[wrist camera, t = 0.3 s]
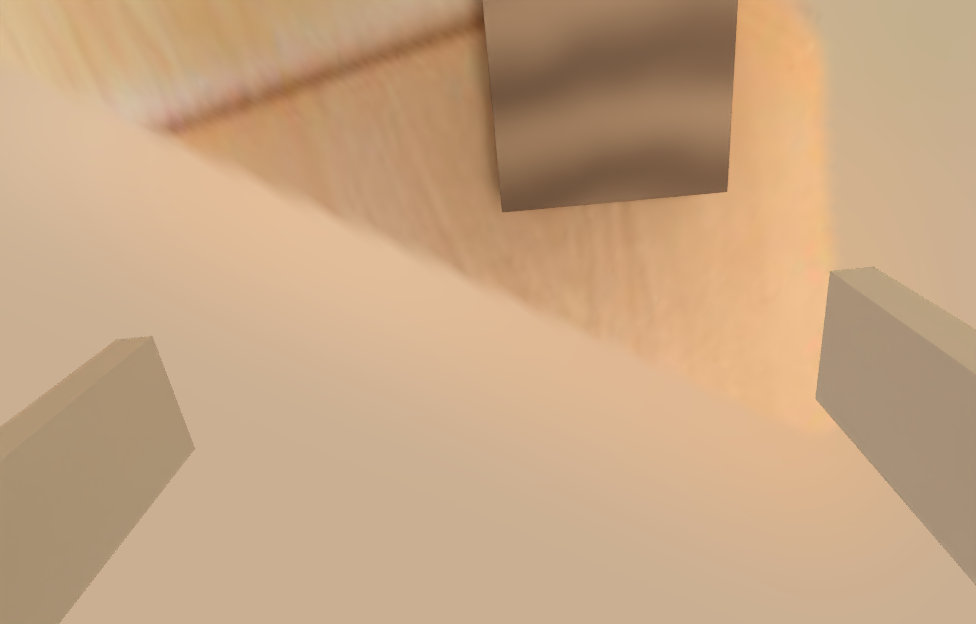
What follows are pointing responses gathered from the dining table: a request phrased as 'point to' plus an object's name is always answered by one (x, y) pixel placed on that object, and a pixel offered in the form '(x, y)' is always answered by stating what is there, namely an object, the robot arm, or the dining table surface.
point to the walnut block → (610, 99)
